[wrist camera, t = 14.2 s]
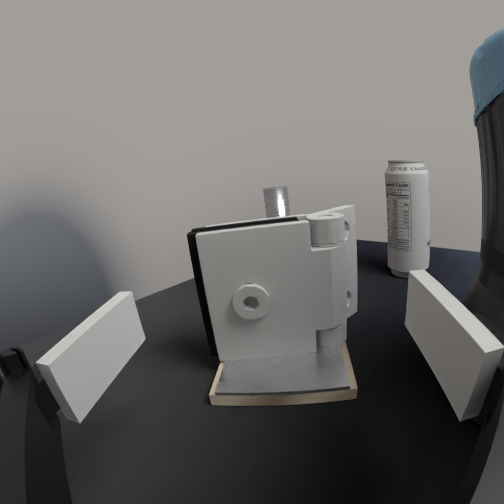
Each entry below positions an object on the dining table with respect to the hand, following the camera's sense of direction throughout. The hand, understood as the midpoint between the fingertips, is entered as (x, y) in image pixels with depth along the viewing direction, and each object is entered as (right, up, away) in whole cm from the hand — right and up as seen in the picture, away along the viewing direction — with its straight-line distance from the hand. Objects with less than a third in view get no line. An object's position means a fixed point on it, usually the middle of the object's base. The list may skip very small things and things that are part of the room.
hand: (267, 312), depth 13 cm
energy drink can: (+21, 0, +24) cm, 32 cm away
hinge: (+3, -5, +12) cm, 13 cm away
